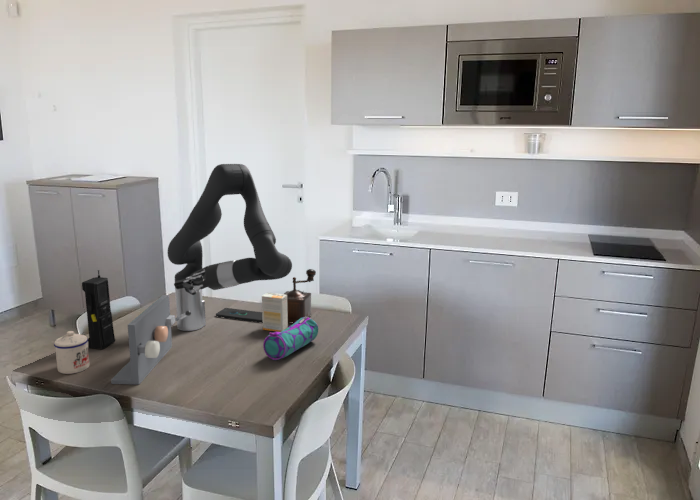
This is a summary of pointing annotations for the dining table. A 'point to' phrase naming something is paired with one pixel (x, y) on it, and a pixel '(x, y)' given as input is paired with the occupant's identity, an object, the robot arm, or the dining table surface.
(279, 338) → the pencil case
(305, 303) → the manual coffee grinder
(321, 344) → the dining table surface
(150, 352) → the cream button
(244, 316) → the smart home device
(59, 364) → the teacup with lid
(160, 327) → the terracotta button
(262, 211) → the robot arm
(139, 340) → the control panel
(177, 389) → the dining table surface
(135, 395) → the dining table surface
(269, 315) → the supplement box
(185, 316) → the toggle lever
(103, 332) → the portable radio
